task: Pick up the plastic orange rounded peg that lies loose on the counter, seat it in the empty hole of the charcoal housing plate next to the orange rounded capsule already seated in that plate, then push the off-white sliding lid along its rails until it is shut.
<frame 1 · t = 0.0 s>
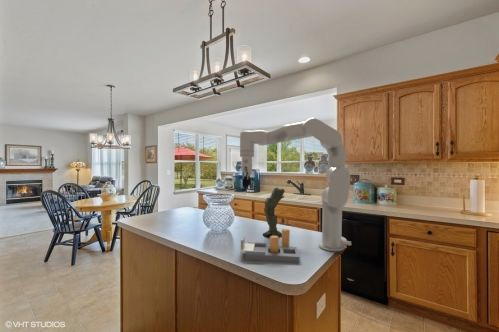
hand: (246, 185, 126), 31 cm above the countertop, fingers open, 9 cm apart
orange rounded capsule: (274, 255, 110), resting in housing
orange rounded peg: (285, 247, 121), on the countertop
lid: (247, 243, 111), point 5 cm above the countertop, slide at 0.0 cm
housing: (271, 255, 110), on the countertop
mechanical leg: (273, 235, 141), on the countertop
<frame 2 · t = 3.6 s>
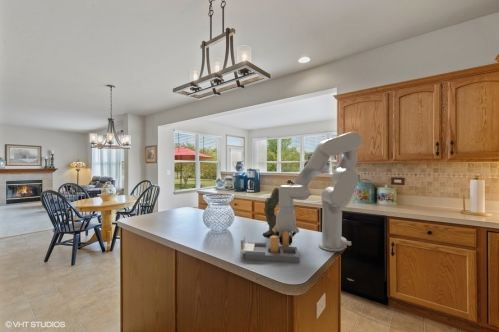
hand: (285, 243, 121), 2 cm above the countertop, fingers closed on orange rounded peg, 4 cm apart
orange rounded peg: (285, 247, 121), on the countertop, touching gripper
everything else where it was.
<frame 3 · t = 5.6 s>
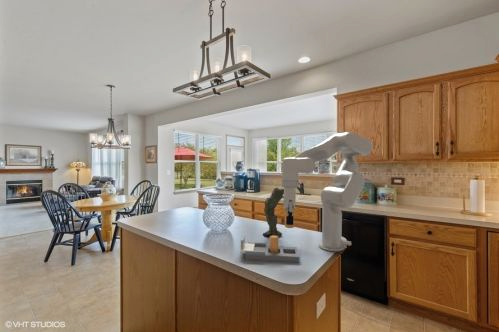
hand: (289, 223, 109), 16 cm above the countertop, fingers closed on orange rounded peg, 4 cm apart
orange rounded peg: (289, 226, 109), point 14 cm above the countertop, touching gripper
everything else where it was.
when the fingers open (3 cm above the countertop, at t = 7.7 s): orange rounded peg drops 2 cm, resting in housing.
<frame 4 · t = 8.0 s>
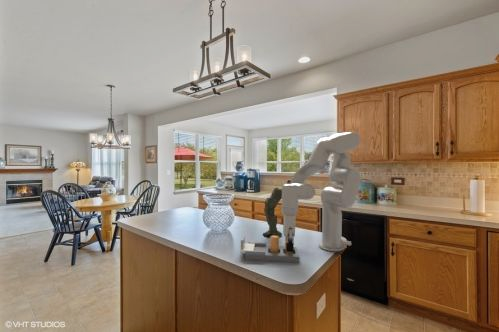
hand: (289, 248, 109), 4 cm above the countertop, fingers open, 7 cm apart
orange rounded peg: (289, 256, 109), resting in housing
everything else where it was.
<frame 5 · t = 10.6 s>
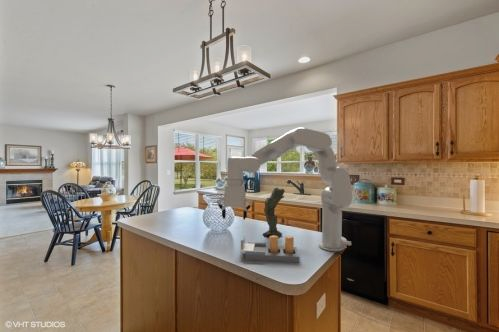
hand: (234, 218, 112), 17 cm above the countertop, fingers open, 9 cm apart
nothing on the countertop moved.
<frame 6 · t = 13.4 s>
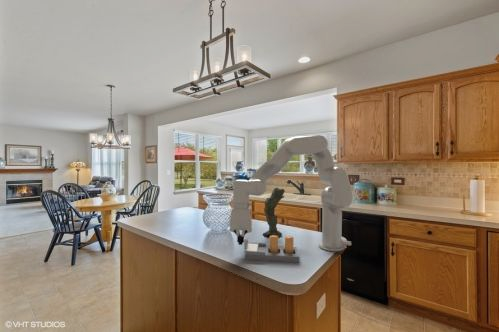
hand: (240, 243, 112), 5 cm above the countertop, fingers closed
lid: (251, 243, 111), point 5 cm above the countertop, slide at 1.7 cm, touching gripper
everything else where it was.
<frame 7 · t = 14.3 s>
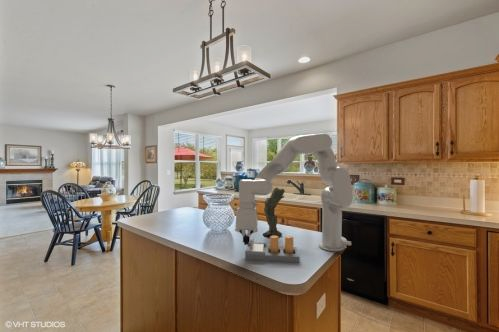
hand: (246, 243, 111), 5 cm above the countertop, fingers closed
lid: (257, 244, 111), point 5 cm above the countertop, slide at 4.4 cm, touching gripper
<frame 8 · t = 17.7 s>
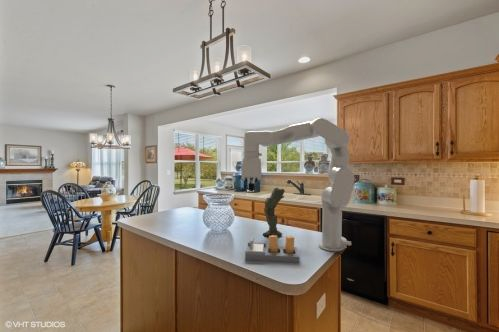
hand: (251, 191, 121), 29 cm above the countertop, fingers closed
lid: (257, 244, 111), point 5 cm above the countertop, slide at 4.4 cm
at the end: orange rounded peg 0.1 cm from the target spot on the housing, point 0.0 cm above the housing's base; orange rounded peg tilted 2°; lid slide at 4.4 cm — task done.
